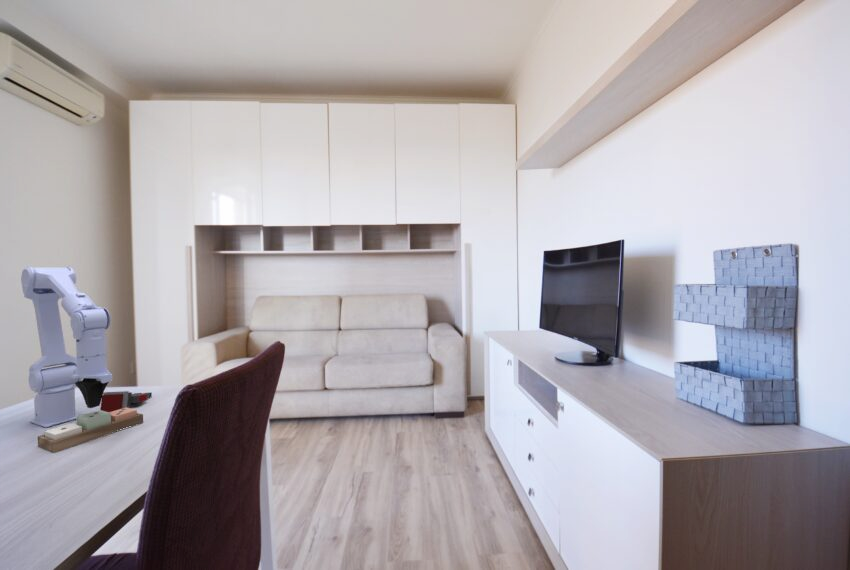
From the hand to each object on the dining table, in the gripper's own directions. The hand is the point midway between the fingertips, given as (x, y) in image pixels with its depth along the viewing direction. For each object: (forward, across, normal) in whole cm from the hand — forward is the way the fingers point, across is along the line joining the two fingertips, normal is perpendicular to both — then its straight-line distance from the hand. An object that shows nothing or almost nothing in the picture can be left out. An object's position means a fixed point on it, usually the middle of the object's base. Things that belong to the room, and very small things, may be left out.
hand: (93, 406), depth 94 cm
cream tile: (+7, 0, -6) cm, 9 cm away
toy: (+8, -16, +15) cm, 23 cm away
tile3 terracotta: (+7, 0, +6) cm, 9 cm away
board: (+7, 0, 0) cm, 7 cm away
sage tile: (+6, 0, 0) cm, 6 cm away
